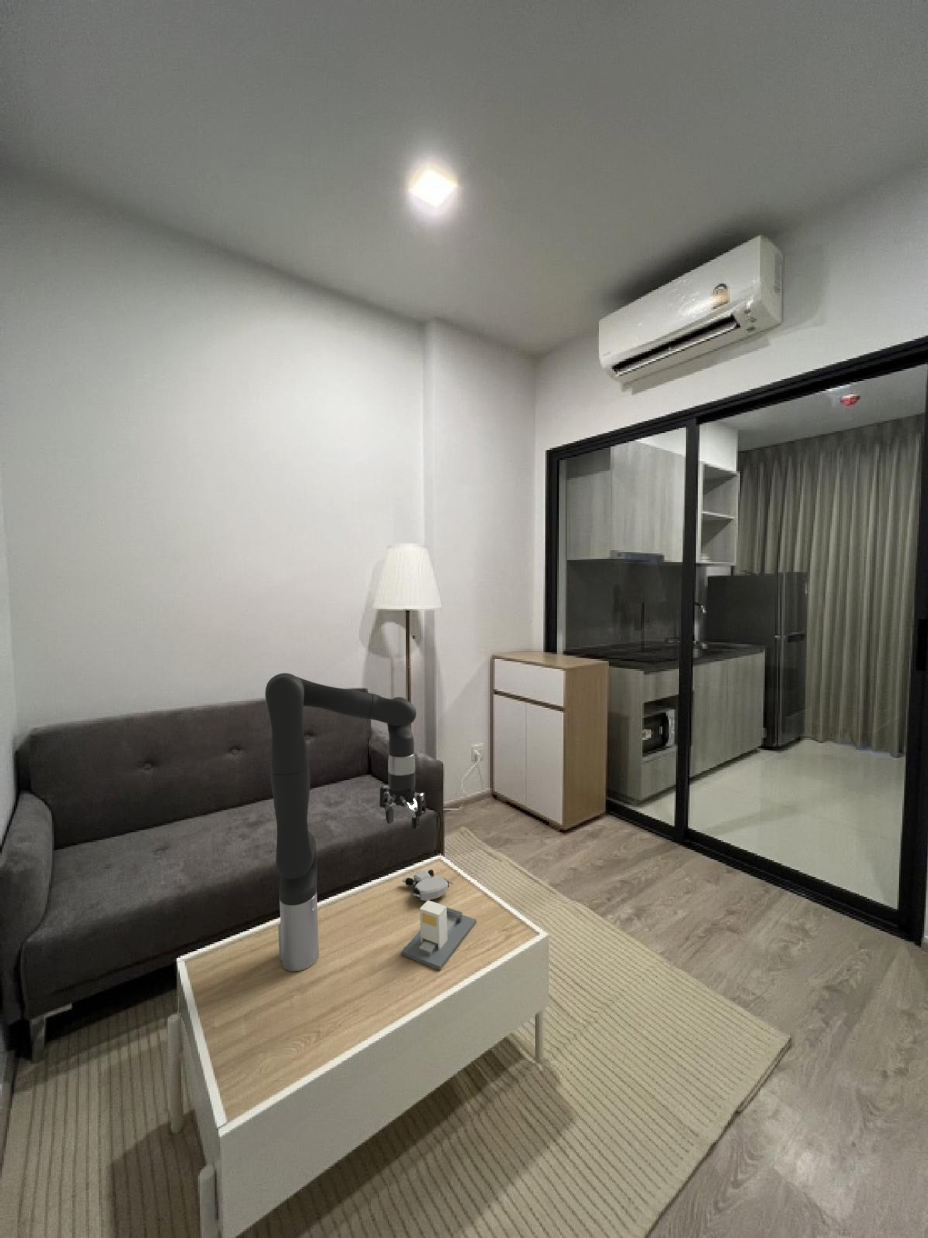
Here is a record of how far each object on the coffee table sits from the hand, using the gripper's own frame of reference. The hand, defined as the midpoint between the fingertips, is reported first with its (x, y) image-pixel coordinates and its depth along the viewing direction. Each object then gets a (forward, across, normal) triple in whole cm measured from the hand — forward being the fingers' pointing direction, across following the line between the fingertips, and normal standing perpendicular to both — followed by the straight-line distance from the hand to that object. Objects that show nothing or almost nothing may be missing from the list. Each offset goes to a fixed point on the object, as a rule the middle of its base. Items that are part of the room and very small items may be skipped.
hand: (402, 825), depth 137 cm
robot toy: (+30, -4, +18) cm, 35 cm away
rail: (+30, +12, +1) cm, 32 cm away
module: (+29, +11, -2) cm, 31 cm away
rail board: (+30, +12, +1) cm, 32 cm away
